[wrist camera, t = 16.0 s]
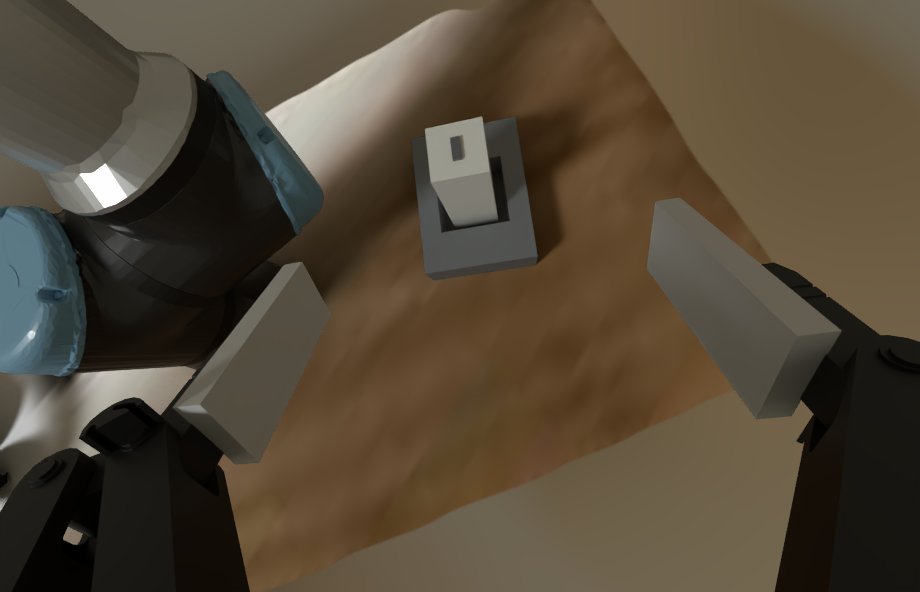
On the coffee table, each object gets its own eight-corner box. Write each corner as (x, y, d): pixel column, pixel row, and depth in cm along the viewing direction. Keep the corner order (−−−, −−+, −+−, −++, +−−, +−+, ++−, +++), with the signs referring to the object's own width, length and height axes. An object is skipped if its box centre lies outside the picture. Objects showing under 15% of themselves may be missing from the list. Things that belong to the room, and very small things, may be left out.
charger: (498, 221, 41) (489, 169, 29) (455, 228, 42) (429, 180, 30) (492, 180, 42) (481, 114, 30) (451, 188, 43) (423, 126, 31)
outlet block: (536, 264, 41) (537, 256, 37) (434, 280, 42) (425, 273, 39) (515, 137, 43) (515, 116, 39) (420, 156, 45) (410, 138, 41)
